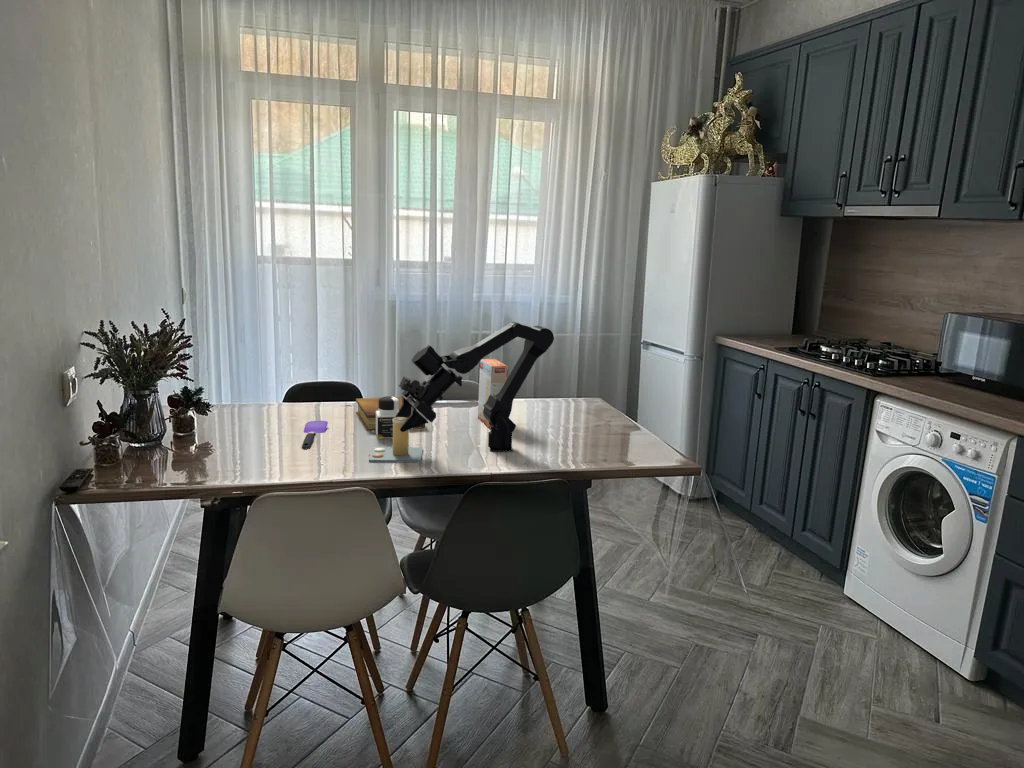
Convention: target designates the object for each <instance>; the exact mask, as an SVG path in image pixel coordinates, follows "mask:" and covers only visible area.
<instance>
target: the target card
mask: <svg viewBox="0 0 1024 768" xmlns="http://www.w3.org/2000/svg"><path fill="white" fill-rule="evenodd" d="M422 455H423V447H421V446H420V447H417V446H416V447H413V446H411V447H410V446H409V449H408V455H404V456H396V455H393V446H373V448H372V450H371V454H370V457H369V459H368V462H370V463H417V462H419V463H420V462H421V463H422ZM419 463H418V464H419Z"/></svg>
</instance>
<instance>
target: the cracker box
mask: <svg viewBox="0 0 1024 768" xmlns="http://www.w3.org/2000/svg"><path fill="white" fill-rule="evenodd" d="M508 368H509V366H508V365H506V364H505V363H503V362H501V361H499V360H498V359H496V358H482V359H481V361H480V362H479V381H478V383H479V384H478V403H477V404H478V405H477V418H478V420H479V421H481V422H482V423H483V424H484V425H485V426H486V427H488V428H489V429H491V427H492V426H491V425H489V422H488V420H486V419H485V417H484V415H483V410H484V406H483V405H484V404H485V403H486V402H487V400H488V397H489V396H490V395H492V396H495V395H497V394H498V393H499V392H500V390H501V389H502V387H503V385H504V384H505V382H506V380H507V378H508V372H509V371H508V370H509V369H508Z"/></svg>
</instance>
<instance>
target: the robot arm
mask: <svg viewBox="0 0 1024 768" xmlns="http://www.w3.org/2000/svg"><path fill="white" fill-rule="evenodd" d="M516 338H521V339H525V340H524V344H523V350H522V353H521V354H520V356H519V358H518V359H517V361H516V363H515V365H514V367H513V368H512V370H511V372H510V374H509V375H508V376H507V380H506V382H505V384H504V385H503V387H502V389H501V390H500V392H499V393H498V394H497V395H495V396H492V395H490V396H489V397H488V400H487V402H486V403H485V404H484V405H483V406H484V410H483V415H484V417H485V419H486V420H488V422H489V425H491V426H492V427H491V428H490V431H488V432H487V433H488V434H487V437H488V438H487V448H488V449H489V451H491V452H513V448H512V447H513V433H514V431H515V429H516V426H517V425H516V424H515V423H514V421H512V420H511V419H510V416H511V412H512V409H513V402H514V399H515V398H516V395H518V393H519V391H520V389H521V387H522V385H523V384H524V382H525V380H526V379H527V378H528V376H529V373H530V371H531V370H532V368H533V366H534V365H535V363H536V361H537V360H538V359H539V358H540V357H541V356H542V355H543V354H545V353H546V352H547V351H548V350H549V348H550V347H551V346H552V344H553V343H554V340H555V336H554V333H553V331H552V330H550V329H549V328H546V327H544V326H541V325H534V326H528V325H525V324H521V323H519V322H517V321H510V322H509V323H508V324H506V325H505V326H504V327H502V328H500V329H499V330H497V331H495V332H493V333H492V334H490V335H487V337H485V338H483V339H482V340H480V341H479V342H477V343H475V344H472V345H470V346H469V345H467V346H465V347H462V348H459V349H457V350H454V351H452V352H451V353H450V354H447V355H441V356H440V354H438V353H437V352H436V350H435V349H434V347H433V346H431V345H430V344H428V345H427V346H425V347H424V348H422V349H421V350H420V351H417V352H416V353H415V354H414V355H413V357H412V359H411V363H412V364H413V365H414V366H416V367H417V369H419V370H420V371H421V373H423V374H424V375H425V376H429V375H430V376H431V377H430V378H429V379H428V380H427V381H426V380H423V381H422V382H421V383H420V381H419V380H416V378H412V379H411V378H409V377H406V376H402V379H401V381H400V383H399V384H398V387H399V388H400V390H402V391H403V392H402V393H401V394H402V395H401V397H402V405H401V407H400V409H399V411H398V413H397V414H396V416H395V418H396V417H406V418H407V417H408V419H407V420H406V421H405V423H404V424H403V425H402V427H401V428H400V431H401V432H404V431H407V430H409V431H410V430H412V429H415V428H414V427H417V426H420V425H423V424H425V425H426V424H429V422H430V423H433V422H434V421H435V419H437V413H436V412H435V411H434V410H433V406H434V405H435V403H436V402H437V401H438V400H440V401H441V400H442V399H444V397H443V395H445V393H446V392H447V391H448V390H449V389H450V388H451V387H452V386H453V385H454V384H455V385H458V386H459V387H462V386H463V381H462V380H463V376H461V375H460V374H462V375H464V374H465V375H466V374H468V373H470V372H471V371H472V370H473V369H474V368H475V367H477V365H479V364H480V361H481V359H485V357H486V356H488V355H489V354H492V353H493V352H495V351H496V350H498V349H499V348H501V347H503V346H504V345H506V344H508V343H509V342H511V341H513V340H514V339H516ZM443 365H444V366H445V367H447V368H448V369H446V368H445V367H444V366H443ZM452 369H453V370H454V371H455V372H457V373H458V374H459V375H457V373H455V372H454V371H453V370H452Z"/></svg>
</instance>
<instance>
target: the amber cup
mask: <svg viewBox="0 0 1024 768" xmlns="http://www.w3.org/2000/svg"><path fill="white" fill-rule="evenodd" d="M407 419H408V418H406V417H396V418H393V438H392V447H393V455H396V456H404V455H408V449H409V447H410V445H409V442H410V436H409V435H410V434H409V433H410V432H409V431H410V429H409V430H407V431H404V432H401V431H400V428H401V427H402V425H403V424H404V423H405V421H406V420H407Z"/></svg>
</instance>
